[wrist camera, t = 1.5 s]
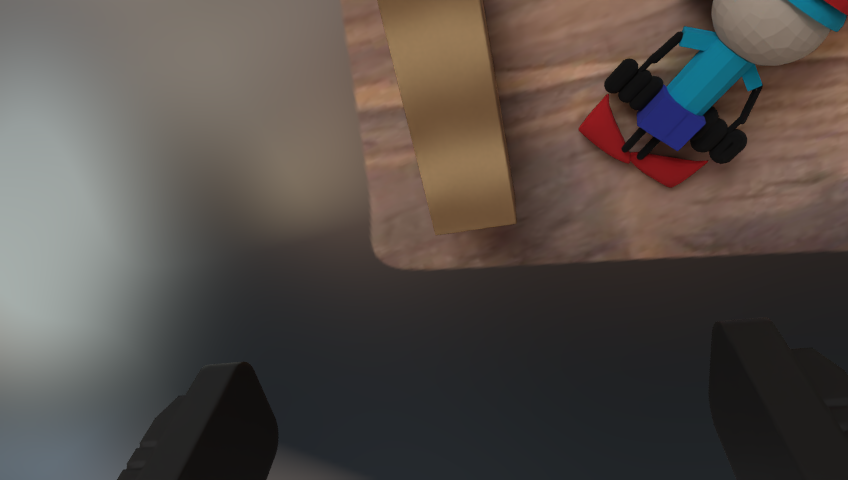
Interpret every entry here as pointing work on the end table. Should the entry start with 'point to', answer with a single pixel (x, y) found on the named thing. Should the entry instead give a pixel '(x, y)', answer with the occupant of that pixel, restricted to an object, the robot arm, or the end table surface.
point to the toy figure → (708, 82)
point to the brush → (452, 110)
